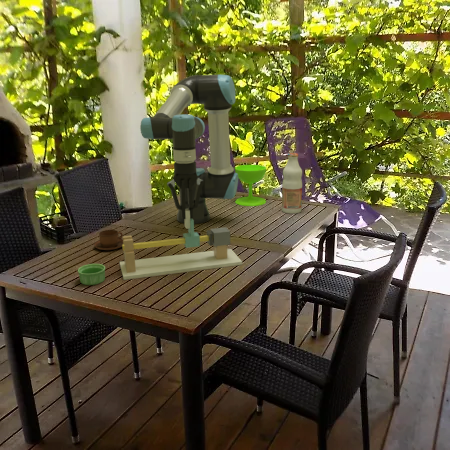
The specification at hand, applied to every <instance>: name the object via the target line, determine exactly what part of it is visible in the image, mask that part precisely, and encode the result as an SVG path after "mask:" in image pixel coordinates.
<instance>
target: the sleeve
mask: <svg viewBox="0 0 450 450" xmlns="http://www.w3.org/2000/svg"><path fill="white" fill-rule="evenodd" d="M187 231H188V232H187V233H182V235H183V236H182V238H185V244H183V245H184V247H185V248H186V249H187V248H188V249H189V248H199V247H201V242H200V236H201V235H199V233H198V232H195V224H194V220H193V219H192V218H191V219H190V228H189V229H187Z"/></svg>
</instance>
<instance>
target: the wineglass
mask: <svg viewBox="0 0 450 450" xmlns="http://www.w3.org/2000/svg"><path fill="white" fill-rule="evenodd" d="M266 172H267V167H266V165H260V164H243V165H236V166H235V167H234V173H237V174H238V180H240V181H241V182H243V183H245V184H248V194H247V195H248V196H241V197H239V198H237V199H236V200H235V201H234V202H235V204H236V205H239V206H242V207H258V206H263V205H265V204H266V203H267V201H266V199H265V198H264V197H263V198H262V197H261V196H260V197H259V196H254V195H253V184H257V183H258V182H260V181H261V180H262V179H263V178H264V177H265V175H266Z"/></svg>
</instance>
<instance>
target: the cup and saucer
mask: <svg viewBox="0 0 450 450" xmlns="http://www.w3.org/2000/svg"><path fill="white" fill-rule="evenodd" d="M119 234H120V237H119ZM123 235H124V234H123V232H121V231H118V230H116V229H105V230H102V231H100V232H98V237H99V240H97V241H95V242H94V243H93V246H94V247H95V248H96V249H98V250H101V251H113V250H117V249H119V248H122V245H123Z"/></svg>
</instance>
